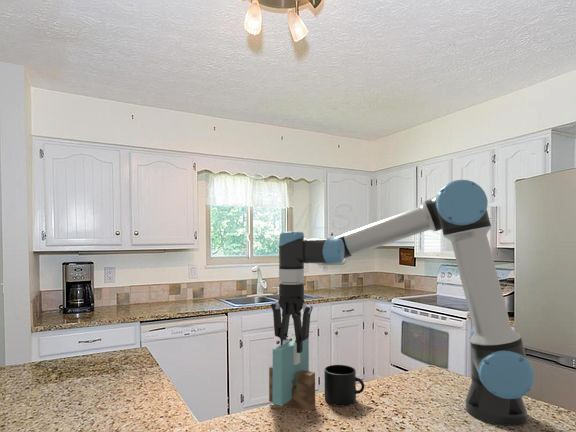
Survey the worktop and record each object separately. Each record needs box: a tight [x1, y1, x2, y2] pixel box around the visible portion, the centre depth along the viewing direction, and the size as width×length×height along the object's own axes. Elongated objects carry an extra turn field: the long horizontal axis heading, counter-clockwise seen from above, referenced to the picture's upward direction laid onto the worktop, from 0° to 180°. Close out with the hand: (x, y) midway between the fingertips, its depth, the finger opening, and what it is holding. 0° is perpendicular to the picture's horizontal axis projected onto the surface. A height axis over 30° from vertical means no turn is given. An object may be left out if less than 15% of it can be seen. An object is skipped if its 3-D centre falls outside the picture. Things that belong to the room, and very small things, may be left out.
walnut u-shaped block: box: [268, 365, 316, 412], centre depth 115 cm, size 14×3×10 cm, turn 59°
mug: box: [323, 364, 365, 407], centre depth 118 cm, size 9×12×9 cm
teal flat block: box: [271, 338, 310, 407], centre depth 115 cm, size 16×3×15 cm, turn 149°
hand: (291, 362), depth 115 cm, fingers closed on teal flat block, 3 cm apart
